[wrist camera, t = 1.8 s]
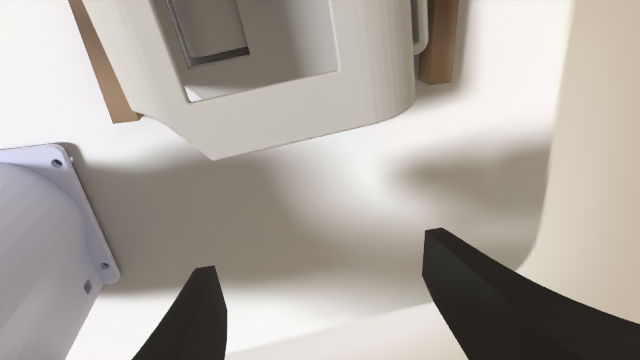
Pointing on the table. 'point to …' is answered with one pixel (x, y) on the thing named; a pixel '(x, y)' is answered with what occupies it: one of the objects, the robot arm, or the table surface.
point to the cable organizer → (264, 66)
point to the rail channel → (431, 64)
